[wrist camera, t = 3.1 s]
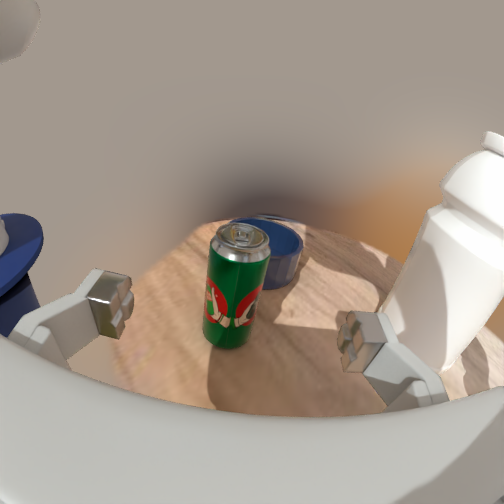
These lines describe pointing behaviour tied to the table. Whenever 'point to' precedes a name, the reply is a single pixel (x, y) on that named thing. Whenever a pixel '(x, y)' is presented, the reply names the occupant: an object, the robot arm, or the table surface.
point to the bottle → (454, 262)
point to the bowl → (278, 251)
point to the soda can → (234, 283)
